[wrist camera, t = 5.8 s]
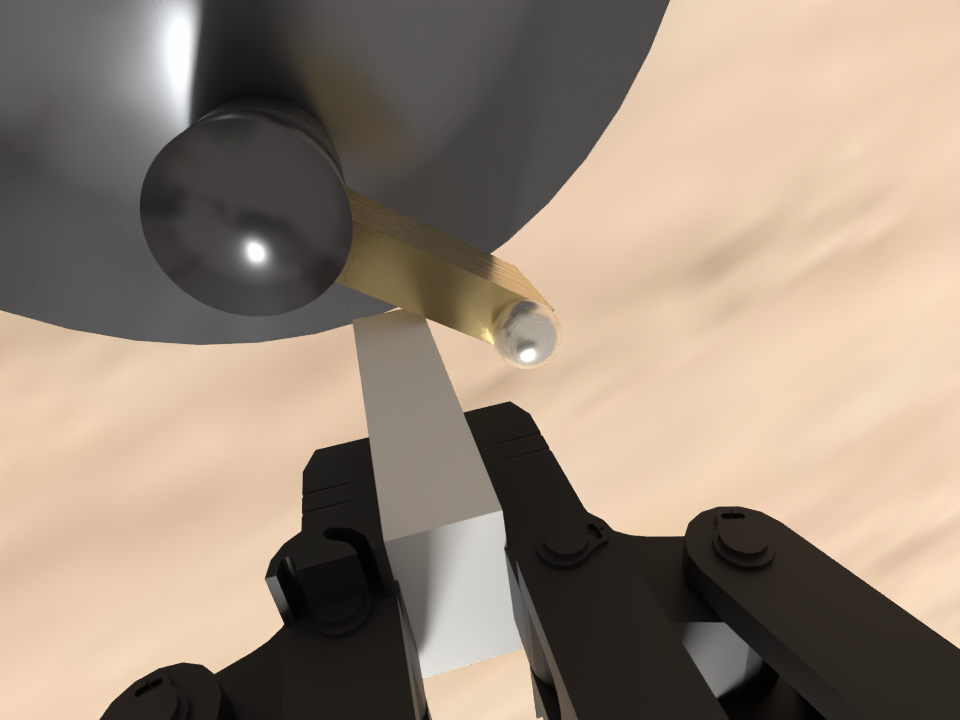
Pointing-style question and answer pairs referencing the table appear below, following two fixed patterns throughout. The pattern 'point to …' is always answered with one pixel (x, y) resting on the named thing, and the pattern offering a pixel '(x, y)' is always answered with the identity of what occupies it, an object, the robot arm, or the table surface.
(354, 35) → the level base
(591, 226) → the table surface
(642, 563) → the robot arm
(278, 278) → the knob
